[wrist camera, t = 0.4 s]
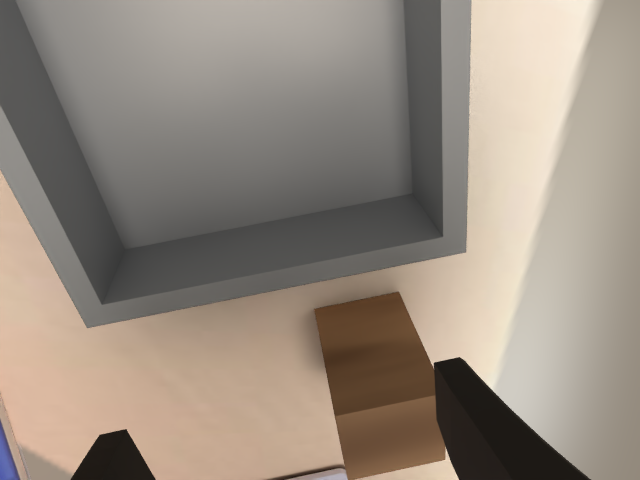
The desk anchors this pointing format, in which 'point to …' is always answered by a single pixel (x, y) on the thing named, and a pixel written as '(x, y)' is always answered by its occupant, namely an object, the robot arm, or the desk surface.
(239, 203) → the grey bin
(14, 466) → the hard drive
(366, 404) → the walnut block
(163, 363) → the desk surface
